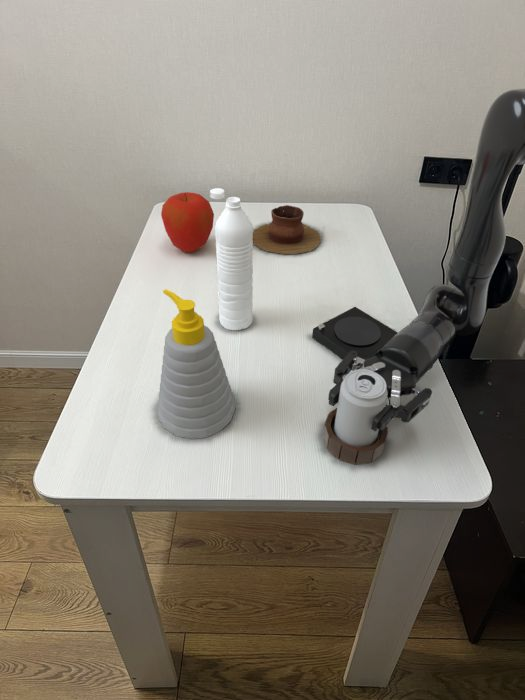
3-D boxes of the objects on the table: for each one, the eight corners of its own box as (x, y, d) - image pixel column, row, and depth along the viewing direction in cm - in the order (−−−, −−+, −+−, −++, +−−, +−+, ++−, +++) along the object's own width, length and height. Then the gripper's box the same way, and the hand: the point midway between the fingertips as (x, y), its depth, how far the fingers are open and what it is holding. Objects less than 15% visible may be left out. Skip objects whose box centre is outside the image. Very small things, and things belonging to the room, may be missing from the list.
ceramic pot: (261, 218, 132) (262, 192, 127) (326, 227, 128) (329, 201, 124) (241, 249, 118) (241, 222, 114) (313, 260, 115) (316, 232, 110)
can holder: (396, 443, 73) (400, 430, 72) (355, 474, 69) (358, 461, 67) (351, 409, 79) (354, 395, 77) (311, 436, 74) (313, 423, 72)
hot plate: (399, 344, 92) (402, 331, 90) (357, 370, 86) (360, 357, 84) (353, 315, 98) (355, 303, 96) (311, 337, 93) (313, 325, 91)
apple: (208, 263, 113) (204, 205, 104) (158, 259, 114) (150, 201, 105) (220, 239, 122) (218, 183, 113) (174, 234, 124) (168, 179, 115)
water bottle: (259, 322, 96) (261, 199, 80) (233, 335, 93) (230, 210, 77) (231, 302, 101) (227, 184, 85) (205, 315, 98) (197, 193, 82)
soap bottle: (204, 371, 85) (195, 269, 72) (251, 411, 78) (251, 306, 65) (142, 406, 78) (120, 301, 65) (188, 453, 71) (173, 346, 58)
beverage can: (379, 432, 75) (394, 374, 67) (368, 463, 71) (382, 405, 63) (340, 418, 77) (349, 361, 69) (326, 447, 73) (335, 390, 65)
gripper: (373, 317, 78) (312, 370, 69) (459, 356, 71) (404, 421, 62) (366, 353, 83) (308, 407, 73) (446, 392, 76) (393, 458, 66)
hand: (352, 413), depth 67 cm, fingers closed on beverage can, 6 cm apart
